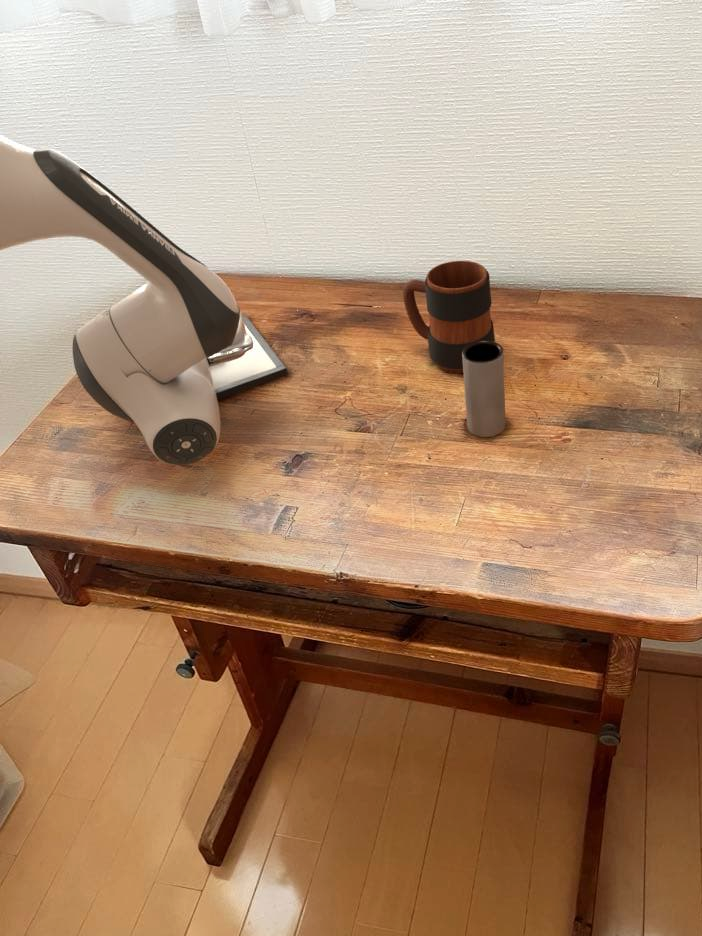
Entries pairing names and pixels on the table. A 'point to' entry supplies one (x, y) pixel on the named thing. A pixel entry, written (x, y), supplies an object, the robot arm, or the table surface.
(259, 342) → the board
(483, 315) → the mug
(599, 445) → the table surface
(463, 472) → the table surface
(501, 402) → the planter
